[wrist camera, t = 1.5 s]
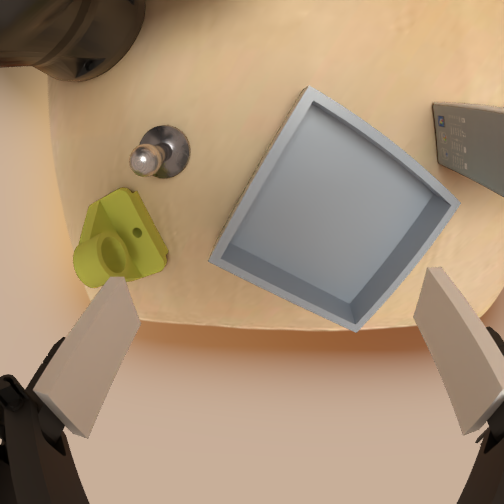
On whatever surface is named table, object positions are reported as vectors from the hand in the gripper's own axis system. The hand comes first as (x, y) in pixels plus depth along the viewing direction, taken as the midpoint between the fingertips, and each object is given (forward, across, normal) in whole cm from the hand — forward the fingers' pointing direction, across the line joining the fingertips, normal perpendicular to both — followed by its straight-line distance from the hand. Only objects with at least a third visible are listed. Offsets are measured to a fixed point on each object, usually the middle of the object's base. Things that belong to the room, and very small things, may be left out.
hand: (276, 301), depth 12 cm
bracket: (+22, -18, -6) cm, 29 cm away
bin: (+22, +6, -5) cm, 23 cm away
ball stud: (+22, -12, +4) cm, 25 cm away
